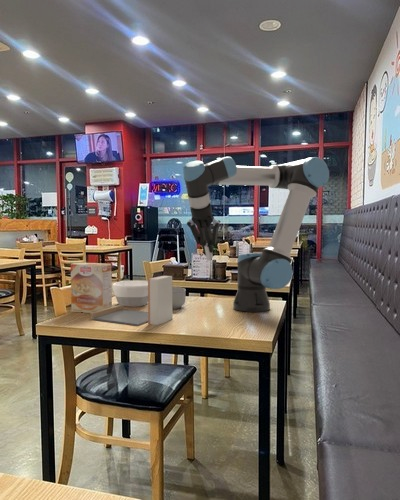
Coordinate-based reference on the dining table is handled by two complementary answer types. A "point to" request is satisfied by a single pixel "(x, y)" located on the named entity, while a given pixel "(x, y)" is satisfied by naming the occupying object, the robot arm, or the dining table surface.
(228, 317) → the dining table surface
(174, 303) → the teacup
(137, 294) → the bowl
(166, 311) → the tile
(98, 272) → the coffeecake box
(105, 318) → the slate board
